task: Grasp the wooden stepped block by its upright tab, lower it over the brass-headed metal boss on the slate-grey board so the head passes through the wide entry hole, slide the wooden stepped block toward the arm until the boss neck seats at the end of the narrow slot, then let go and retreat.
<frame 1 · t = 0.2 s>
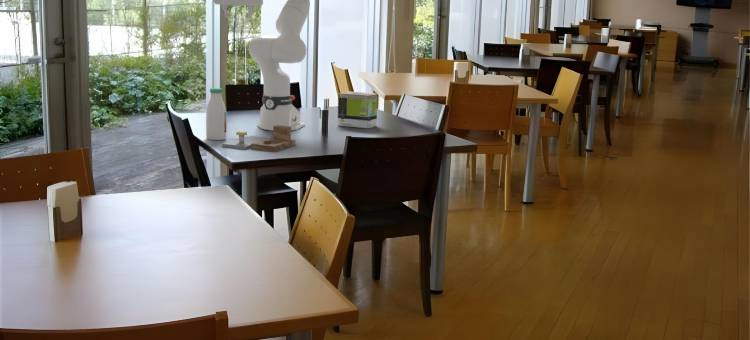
hand: (238, 17, 328), 47 cm above the table, fingers open, 8 cm apart
milk bottle: (216, 139, 337), on the table
boss board: (241, 145, 325), on the table
tea box: (357, 126, 380), on the table
wooden stepped block: (273, 146, 325), on the table
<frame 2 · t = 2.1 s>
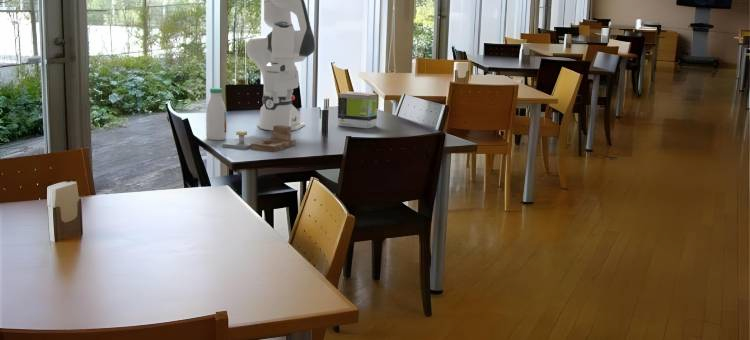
hand: (282, 101, 327), 17 cm above the table, fingers open, 8 cm apart
nothing on the table moved.
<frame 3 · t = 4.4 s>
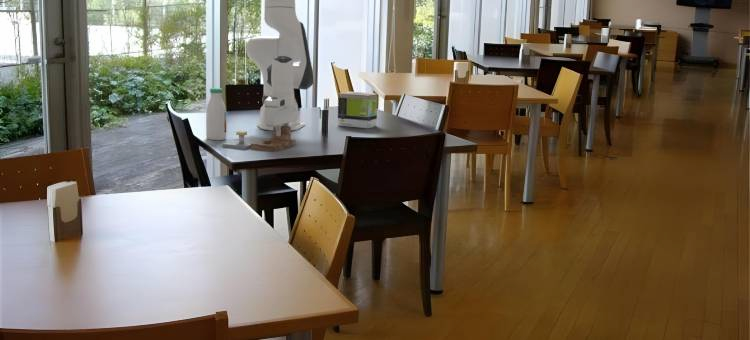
hand: (282, 135, 330), 4 cm above the table, fingers closed on wooden stepped block, 3 cm apart
wooden stepped block: (273, 146, 325), on the table, touching gripper
everything else where it was.
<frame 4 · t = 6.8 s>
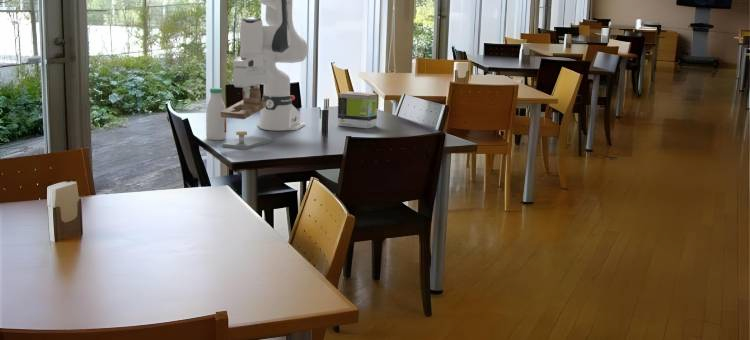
hand: (251, 97, 327), 18 cm above the table, fingers closed on wooden stepped block, 3 cm apart
wooden stepped block: (243, 111, 323), point 13 cm above the table, tilted 10°, touching gripper
everything else where it was.
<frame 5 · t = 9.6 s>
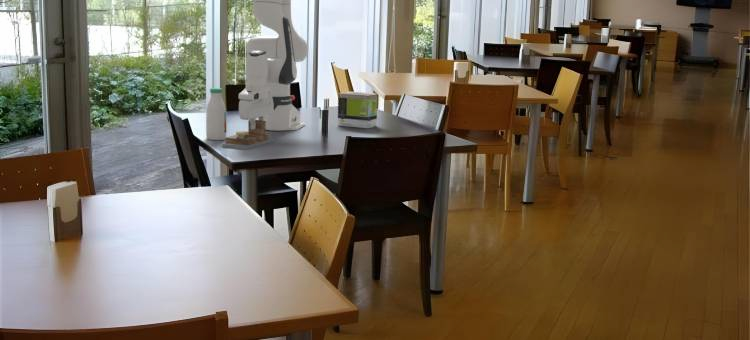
hand: (256, 128, 334), 5 cm above the table, fingers closed on wooden stepped block, 3 cm apart
wooden stepped block: (248, 140, 329), point 1 cm above the table, touching gripper
everything else where it was.
when the fingers open (5 cm above the table, at t = 10.6 s): wooden stepped block stays where it is, resting on boss board.
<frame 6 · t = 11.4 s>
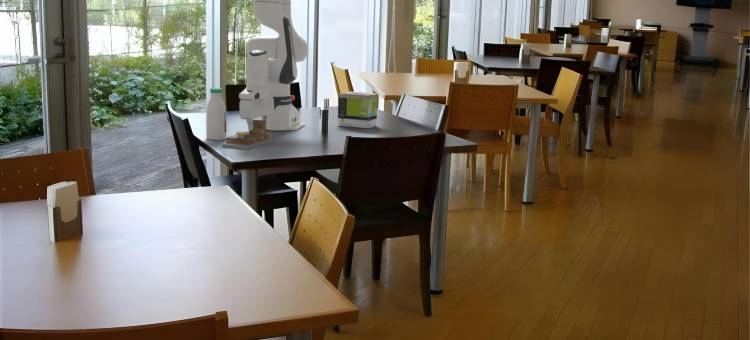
hand: (257, 128, 334), 5 cm above the table, fingers open, 8 cm apart
wooden stepped block: (248, 140, 329), point 1 cm above the table, touching boss board
everything else where it was.
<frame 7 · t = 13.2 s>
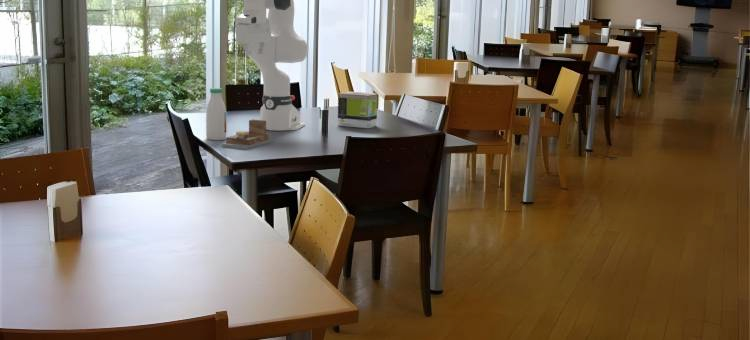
hand: (254, 54, 328), 34 cm above the table, fingers open, 8 cm apart
nothing on the table moved.
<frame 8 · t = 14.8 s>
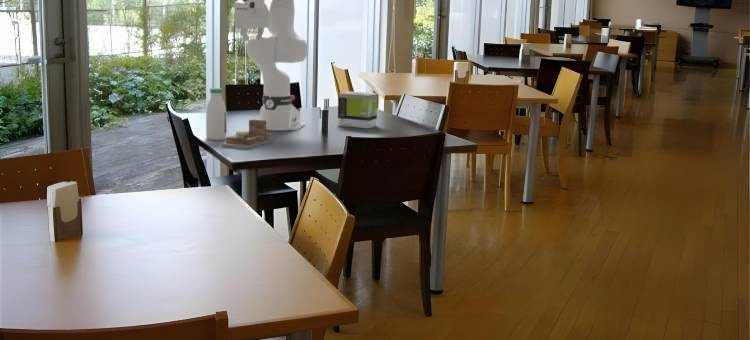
hand: (252, 40, 327), 39 cm above the table, fingers open, 8 cm apart
nothing on the table moved.
at the end: wooden stepped block 0.3 cm from the target spot on the boss board, point 1.2 cm above the boss board's base; wooden stepped block tilted 0°; the gripper is holding nothing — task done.
